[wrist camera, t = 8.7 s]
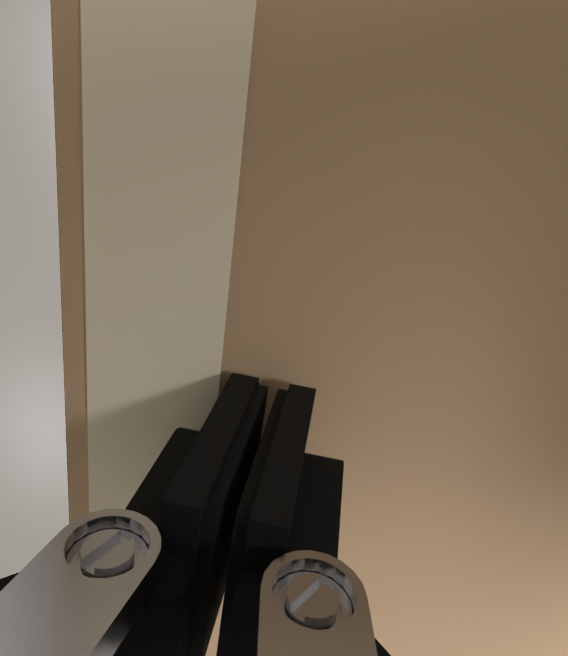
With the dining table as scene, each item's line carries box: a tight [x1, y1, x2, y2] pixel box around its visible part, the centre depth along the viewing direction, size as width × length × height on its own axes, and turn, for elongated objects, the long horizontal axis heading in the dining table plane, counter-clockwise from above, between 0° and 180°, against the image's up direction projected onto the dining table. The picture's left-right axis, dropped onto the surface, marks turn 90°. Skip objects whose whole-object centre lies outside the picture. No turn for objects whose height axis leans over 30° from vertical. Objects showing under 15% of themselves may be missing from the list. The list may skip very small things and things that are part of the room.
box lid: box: [51, 0, 568, 656], centre depth 12 cm, size 21×17×1 cm
